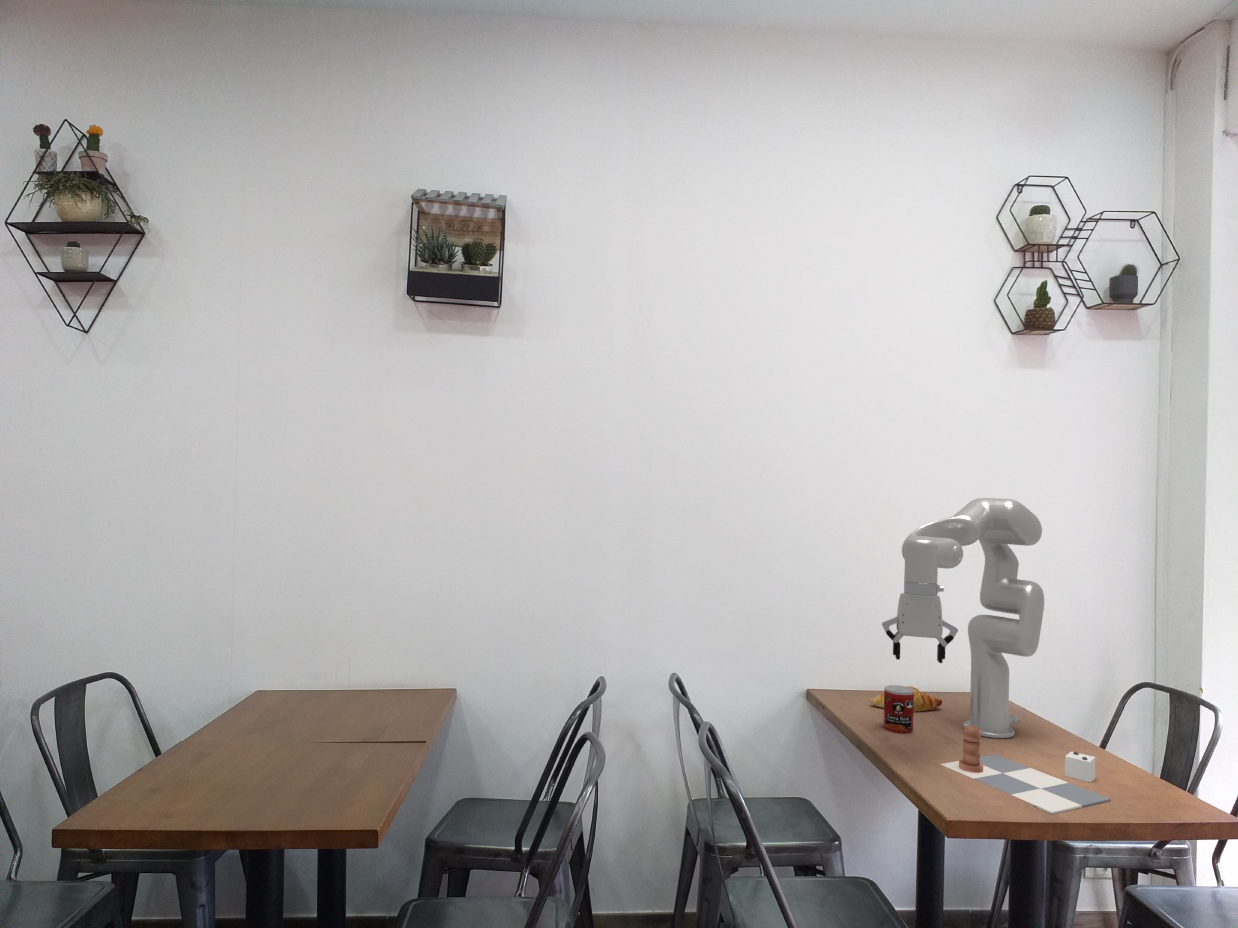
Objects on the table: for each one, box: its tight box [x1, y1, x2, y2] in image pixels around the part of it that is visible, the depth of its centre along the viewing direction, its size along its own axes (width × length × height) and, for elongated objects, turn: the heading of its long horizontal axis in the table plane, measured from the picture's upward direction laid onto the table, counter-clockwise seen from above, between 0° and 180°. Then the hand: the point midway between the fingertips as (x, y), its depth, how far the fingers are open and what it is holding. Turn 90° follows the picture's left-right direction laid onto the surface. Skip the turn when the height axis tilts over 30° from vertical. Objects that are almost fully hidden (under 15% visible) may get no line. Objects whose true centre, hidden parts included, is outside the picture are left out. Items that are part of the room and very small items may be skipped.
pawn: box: [958, 725, 983, 773], centre depth 181 cm, size 5×5×10 cm
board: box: [939, 754, 1112, 815], centre depth 174 cm, size 19×28×1 cm, turn 25°
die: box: [1064, 750, 1096, 783], centre depth 178 cm, size 5×5×6 cm
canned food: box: [883, 684, 915, 734], centre depth 210 cm, size 8×8×11 cm
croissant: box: [869, 685, 943, 713], centre depth 231 cm, size 21×10×8 cm, turn 89°
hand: (918, 660), depth 186 cm, fingers open, 9 cm apart
